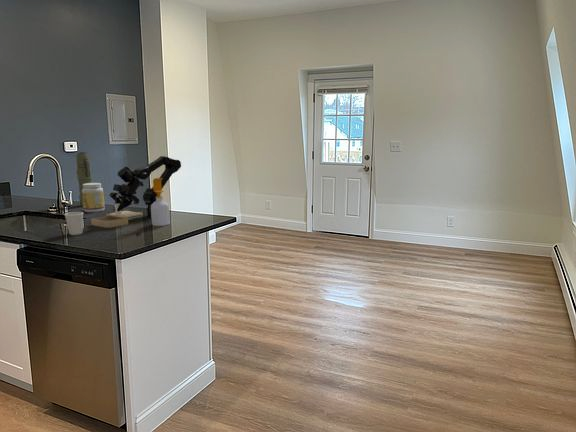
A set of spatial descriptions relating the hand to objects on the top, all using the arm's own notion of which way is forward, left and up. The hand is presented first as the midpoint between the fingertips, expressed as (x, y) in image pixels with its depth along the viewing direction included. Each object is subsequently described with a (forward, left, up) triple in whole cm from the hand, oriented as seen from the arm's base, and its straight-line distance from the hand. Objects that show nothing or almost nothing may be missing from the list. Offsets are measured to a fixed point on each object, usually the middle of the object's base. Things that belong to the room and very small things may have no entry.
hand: (115, 210), depth 232 cm
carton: (+2, +4, -7) cm, 8 cm away
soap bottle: (-25, +2, -7) cm, 26 cm away
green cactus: (+47, -56, -7) cm, 74 cm away
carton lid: (-3, -5, -3) cm, 6 cm away
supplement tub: (+32, -36, -7) cm, 49 cm away
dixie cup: (+9, +24, -7) cm, 26 cm away
